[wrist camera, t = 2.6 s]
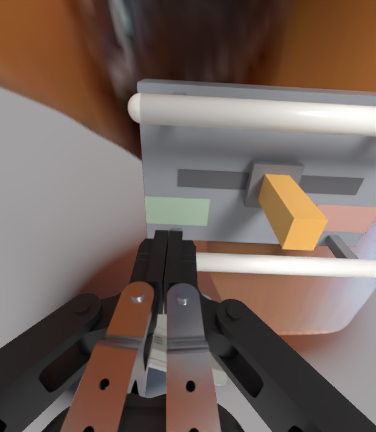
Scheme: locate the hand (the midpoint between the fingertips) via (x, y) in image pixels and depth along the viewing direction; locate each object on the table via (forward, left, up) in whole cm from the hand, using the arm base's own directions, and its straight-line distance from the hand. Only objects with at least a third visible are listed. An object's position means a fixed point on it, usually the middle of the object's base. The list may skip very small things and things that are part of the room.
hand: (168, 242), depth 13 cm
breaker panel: (0, +8, -12) cm, 15 cm away
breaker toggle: (0, +8, -8) cm, 12 cm away
